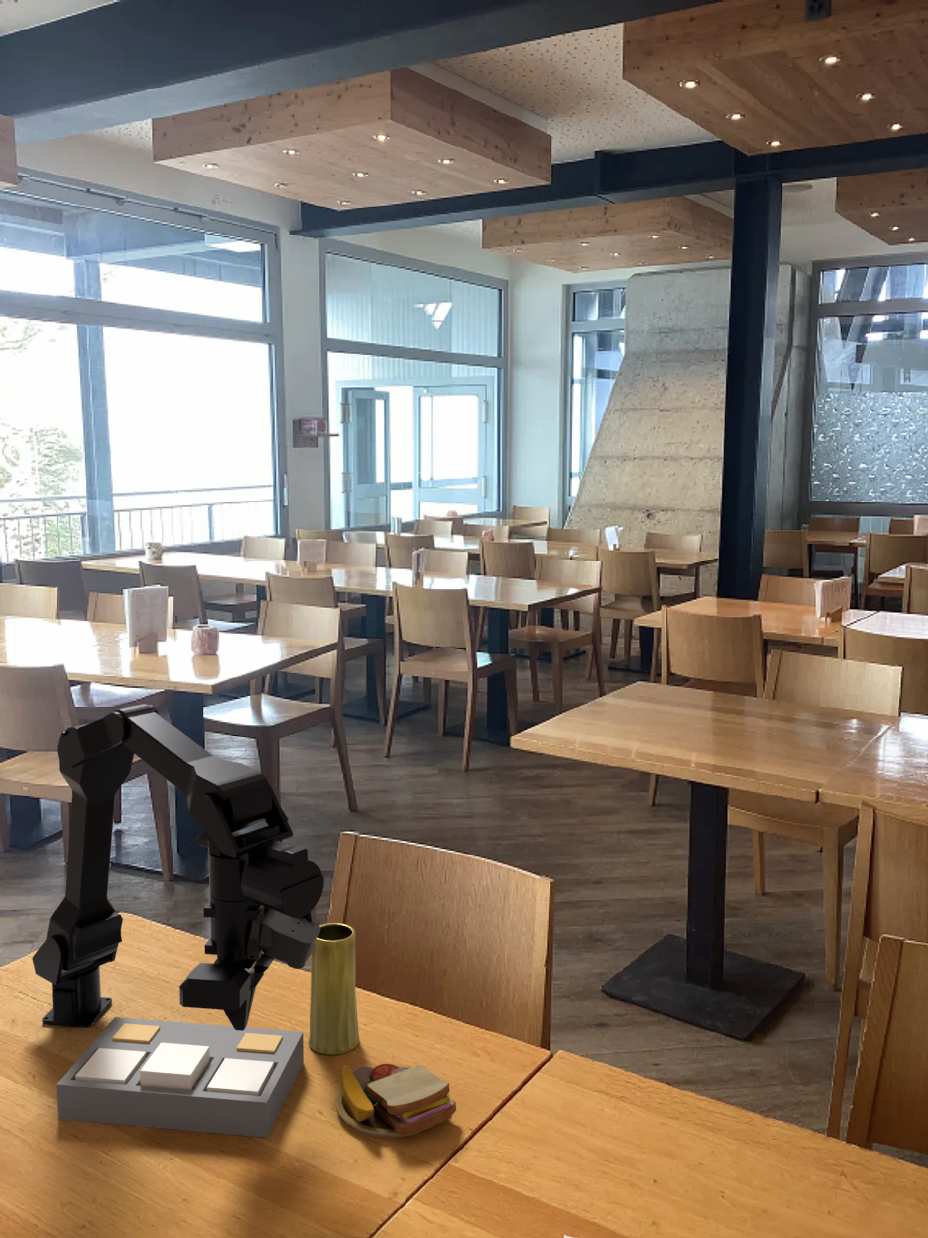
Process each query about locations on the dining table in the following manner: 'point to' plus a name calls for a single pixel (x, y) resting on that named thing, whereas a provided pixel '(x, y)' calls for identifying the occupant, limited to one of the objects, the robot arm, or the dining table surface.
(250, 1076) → the key
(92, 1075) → the key
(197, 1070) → the key middle
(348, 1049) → the vase
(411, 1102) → the toy sandwich meal
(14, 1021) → the dining table surface
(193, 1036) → the key panel
